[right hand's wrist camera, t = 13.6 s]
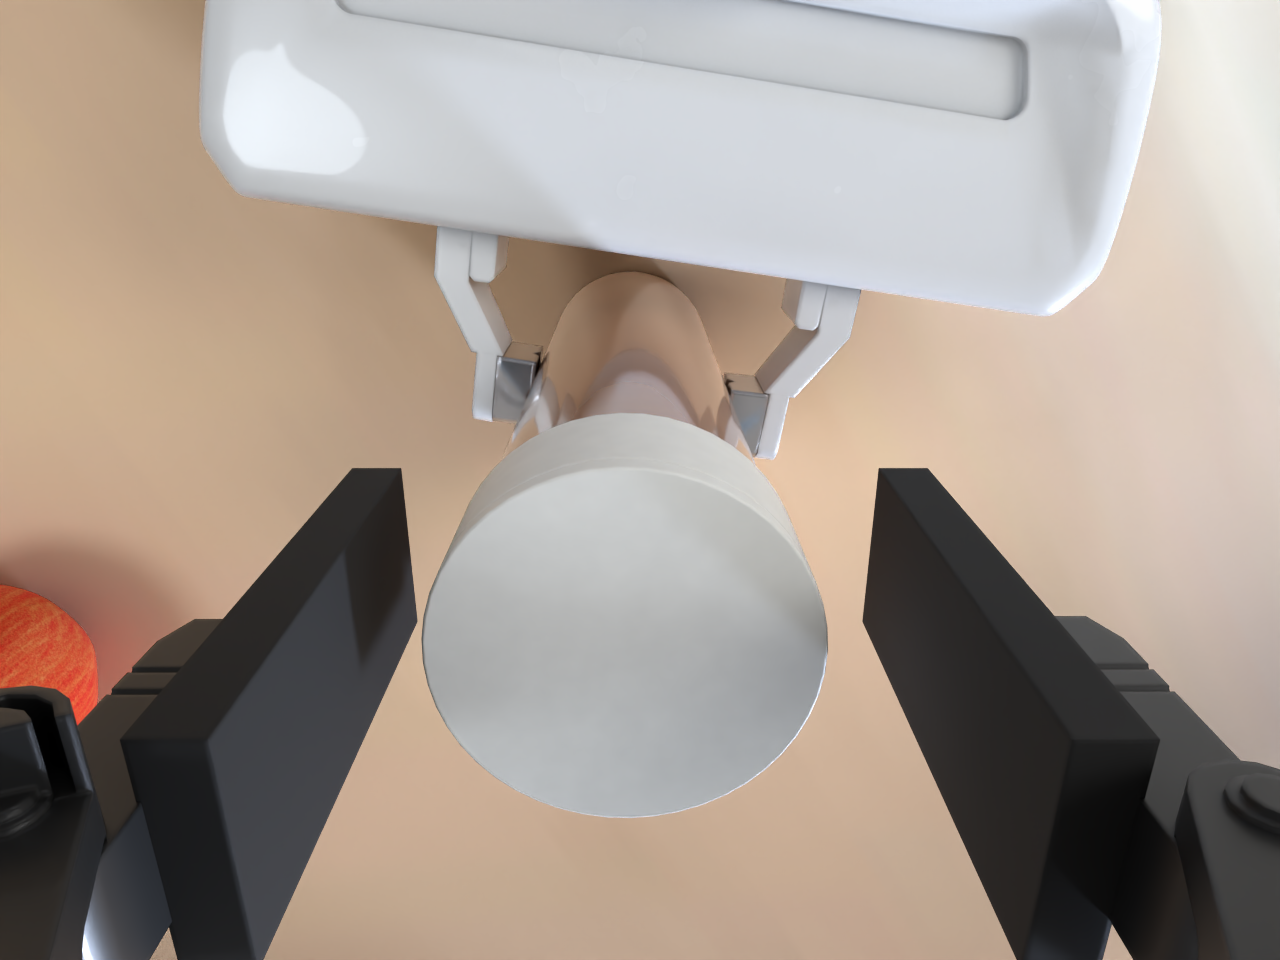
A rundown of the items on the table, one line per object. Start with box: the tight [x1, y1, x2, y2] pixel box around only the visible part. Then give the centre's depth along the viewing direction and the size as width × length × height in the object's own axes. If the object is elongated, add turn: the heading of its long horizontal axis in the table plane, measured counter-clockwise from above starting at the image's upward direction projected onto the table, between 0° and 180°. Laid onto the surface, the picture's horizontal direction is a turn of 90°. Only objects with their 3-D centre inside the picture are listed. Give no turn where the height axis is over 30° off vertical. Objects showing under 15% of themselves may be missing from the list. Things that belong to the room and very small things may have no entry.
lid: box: [422, 413, 828, 818], centre depth 12 cm, size 5×5×2 cm
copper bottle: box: [500, 272, 756, 466], centre depth 20 cm, size 5×5×18 cm
